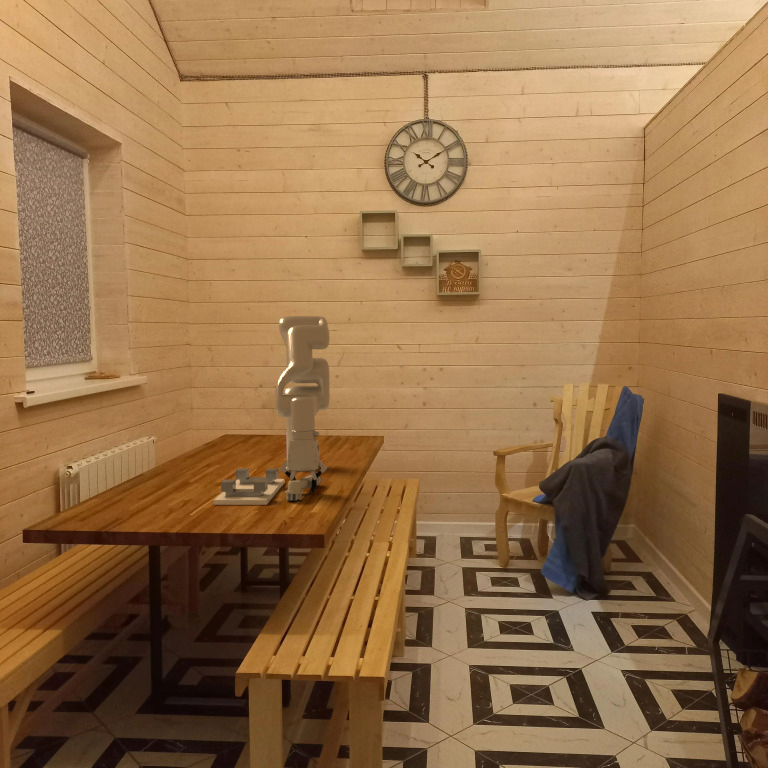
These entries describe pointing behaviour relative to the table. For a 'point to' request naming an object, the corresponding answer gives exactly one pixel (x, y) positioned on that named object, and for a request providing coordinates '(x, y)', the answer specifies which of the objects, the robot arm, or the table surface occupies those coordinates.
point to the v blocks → (244, 478)
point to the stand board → (250, 500)
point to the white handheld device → (299, 487)
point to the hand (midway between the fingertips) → (303, 490)
